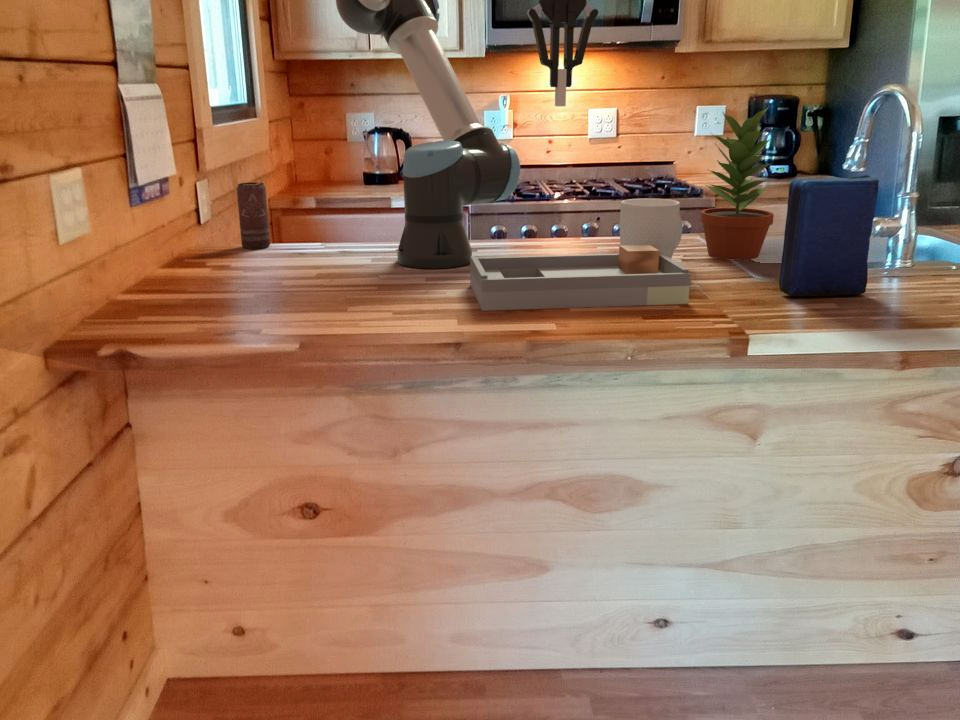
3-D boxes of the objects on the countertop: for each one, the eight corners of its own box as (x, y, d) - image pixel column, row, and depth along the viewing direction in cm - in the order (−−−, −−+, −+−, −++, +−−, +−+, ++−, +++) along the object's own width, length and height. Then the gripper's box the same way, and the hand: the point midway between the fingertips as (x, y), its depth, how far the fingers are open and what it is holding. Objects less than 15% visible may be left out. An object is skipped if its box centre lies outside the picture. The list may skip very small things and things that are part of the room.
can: (277, 246, 190) (271, 182, 186) (255, 250, 185) (250, 185, 181) (257, 243, 193) (252, 181, 189) (236, 247, 188) (230, 183, 184)
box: (482, 310, 135) (481, 276, 134) (470, 285, 152) (470, 255, 151) (688, 303, 139) (690, 270, 137) (654, 279, 156) (656, 250, 154)
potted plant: (681, 251, 182) (691, 105, 172) (740, 246, 187) (753, 104, 177) (723, 264, 168) (736, 107, 159) (785, 259, 173) (802, 105, 164)
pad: (646, 305, 138) (647, 287, 137) (617, 280, 155) (617, 264, 154) (688, 303, 139) (689, 285, 138) (654, 279, 156) (655, 263, 155)
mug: (655, 259, 174) (659, 194, 170) (700, 267, 166) (705, 200, 162) (605, 269, 165) (608, 201, 161) (650, 278, 157) (654, 207, 153)
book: (854, 291, 147) (869, 173, 141) (870, 298, 142) (888, 176, 136) (774, 293, 145) (787, 174, 139) (788, 301, 140) (802, 178, 134)
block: (626, 274, 147) (628, 251, 145) (618, 267, 152) (619, 245, 151) (657, 273, 147) (659, 250, 146) (648, 266, 152) (649, 244, 151)
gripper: (530, -36, 146) (528, 106, 154) (604, -36, 148) (599, 106, 155) (523, -31, 153) (522, 105, 161) (594, -30, 155) (589, 105, 162)
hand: (560, 106), depth 158 cm, fingers closed
